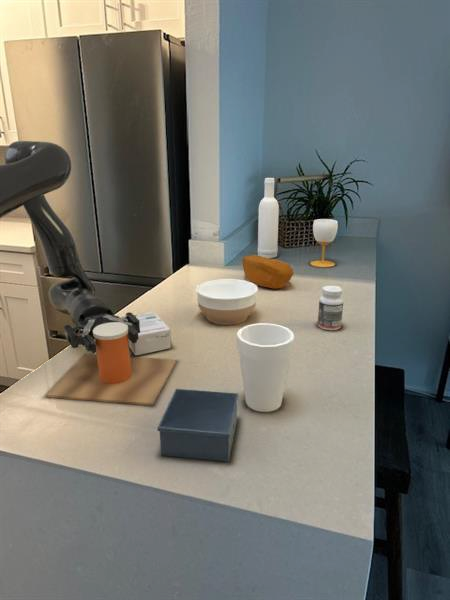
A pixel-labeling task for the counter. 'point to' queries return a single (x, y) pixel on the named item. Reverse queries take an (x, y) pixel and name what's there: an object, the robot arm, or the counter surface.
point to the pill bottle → (330, 308)
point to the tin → (199, 425)
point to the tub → (112, 352)
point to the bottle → (268, 222)
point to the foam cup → (264, 363)
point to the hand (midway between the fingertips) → (115, 343)
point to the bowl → (226, 300)
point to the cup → (324, 238)
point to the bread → (266, 271)
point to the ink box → (151, 335)
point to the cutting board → (135, 390)
